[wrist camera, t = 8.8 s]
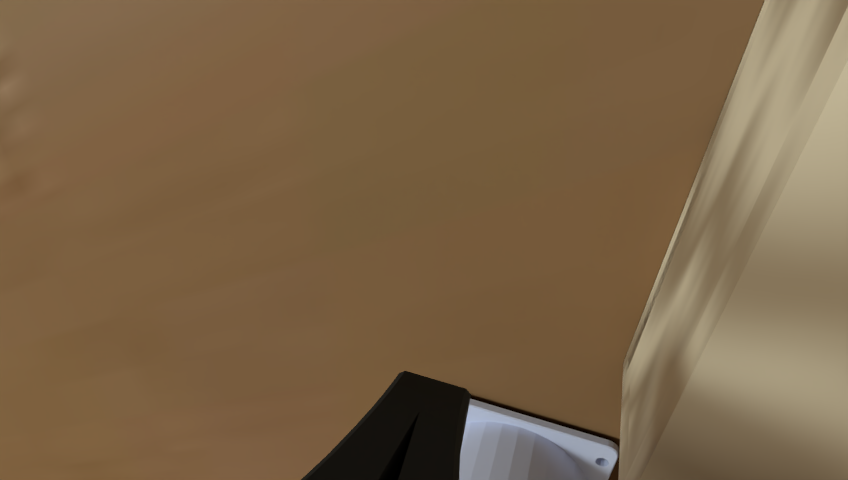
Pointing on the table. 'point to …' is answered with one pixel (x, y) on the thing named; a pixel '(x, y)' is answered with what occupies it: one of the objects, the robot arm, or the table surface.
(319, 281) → the table surface
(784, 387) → the cabinet
